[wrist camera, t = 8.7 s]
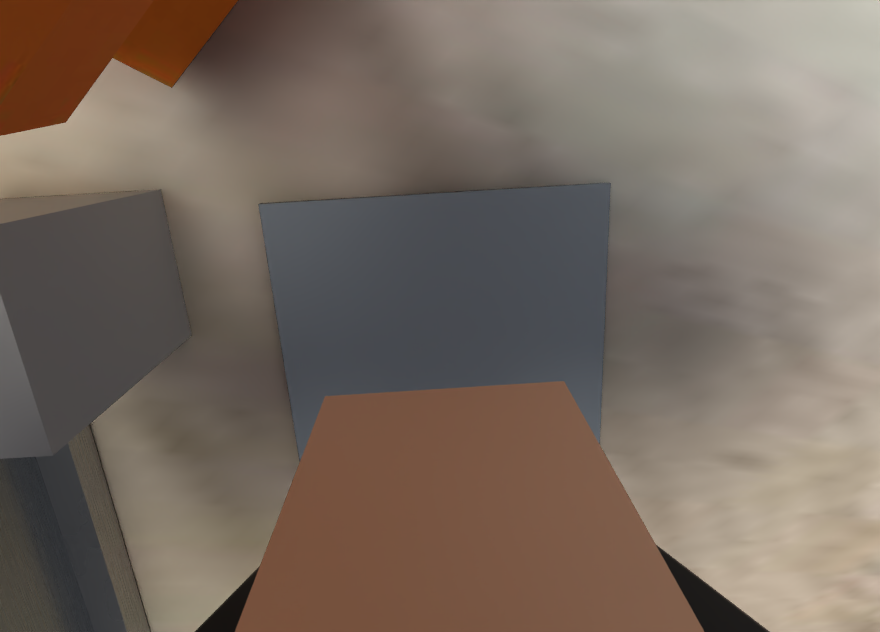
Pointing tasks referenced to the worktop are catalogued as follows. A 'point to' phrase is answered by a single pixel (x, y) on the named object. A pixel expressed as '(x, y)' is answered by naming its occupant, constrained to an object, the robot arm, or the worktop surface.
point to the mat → (440, 293)
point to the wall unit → (63, 547)
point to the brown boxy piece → (460, 523)
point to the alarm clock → (91, 49)
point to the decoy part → (81, 310)
